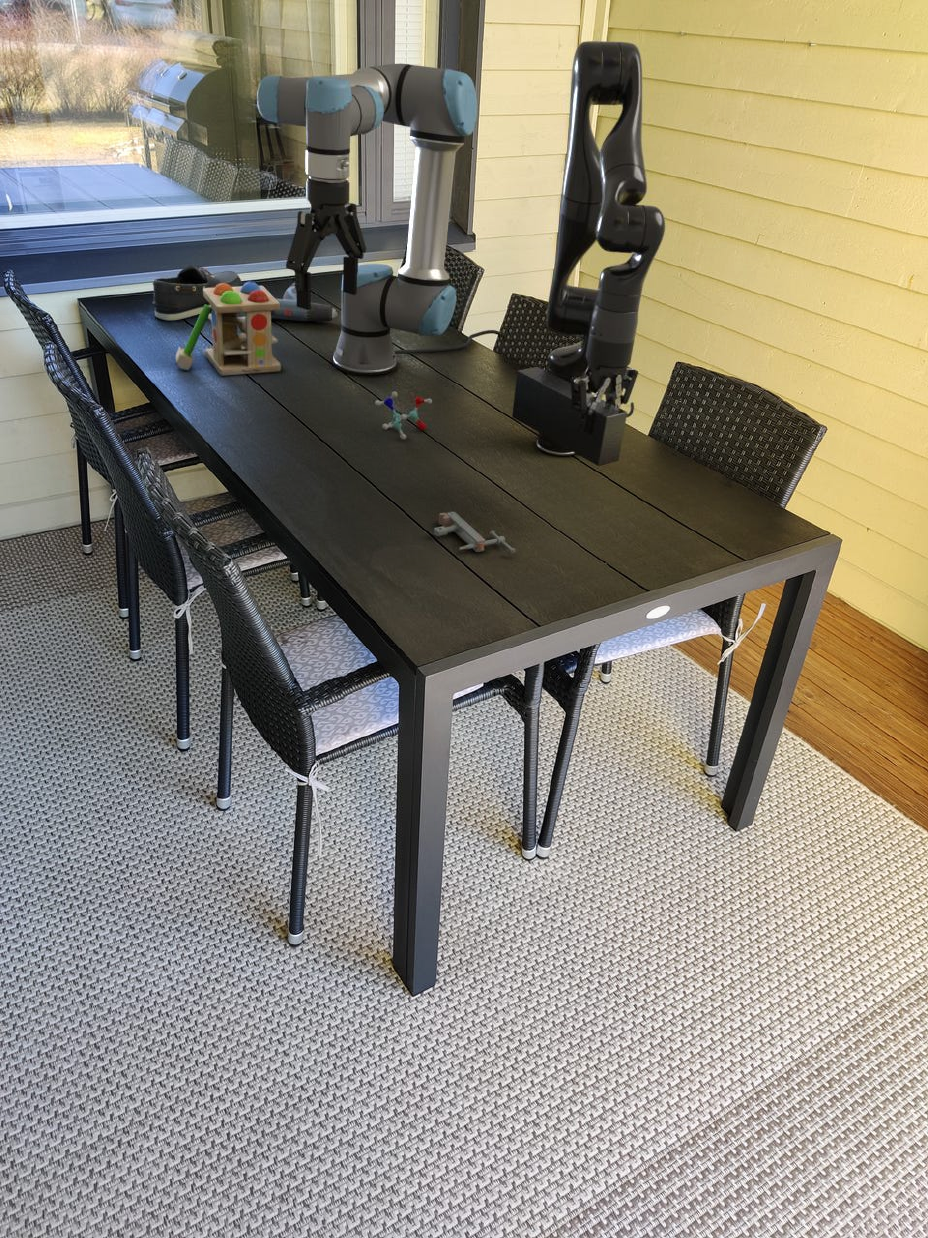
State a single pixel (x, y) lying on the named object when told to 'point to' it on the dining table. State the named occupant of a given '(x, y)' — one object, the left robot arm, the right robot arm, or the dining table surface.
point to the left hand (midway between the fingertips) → (327, 300)
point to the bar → (567, 416)
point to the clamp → (466, 533)
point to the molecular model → (399, 418)
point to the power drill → (301, 309)
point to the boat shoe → (187, 291)
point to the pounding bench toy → (229, 347)
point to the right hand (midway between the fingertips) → (596, 429)
